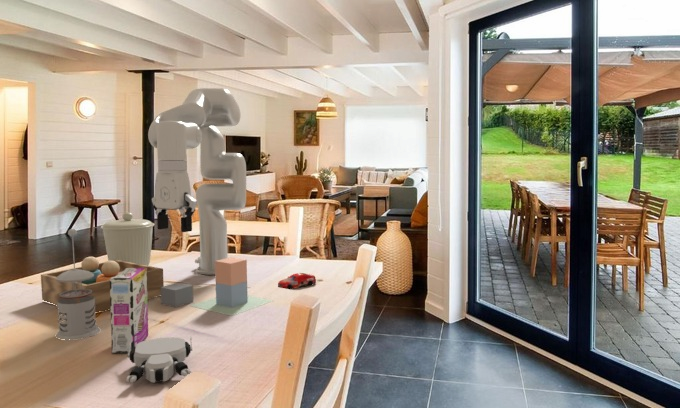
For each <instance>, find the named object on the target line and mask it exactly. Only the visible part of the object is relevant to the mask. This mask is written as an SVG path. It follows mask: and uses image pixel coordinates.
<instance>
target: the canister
mask: <svg viewBox="0 0 680 408" xmlns="http://www.w3.org/2000/svg"><path fill="white" fill-rule="evenodd" d="M133 215H134V214H133V213H131V212H127V211H126V212H123V214H122V219H117V220H112V221H111V220H110V221H107V222H105V223H104V224H103V225H101V226H100V229H101V230H102V234H103V239H104V244H105V251H106V255H107V256H106V257H107V261H114V260H120V261H125V262H131V263H136V264H141V265H146V266H150V263H151V257H152V255H151V254H152V253H151V252H152V245H153V244H152V242H153V227H154V226H155V224H156V223H154V222H152V221H151V220H148V219H144V218H143V219H140V218H133V217H134V216H133Z"/></svg>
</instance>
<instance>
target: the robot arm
mask: <svg viewBox="0 0 680 408" xmlns="http://www.w3.org/2000/svg"><path fill="white" fill-rule="evenodd" d="M240 120H241V109H240V107H239V104H238V102H237V101H236V99H235V96H234V95H233V94H232V92H230V91H229V90H228V89H227V88H226V89H225V88H222V87H221V88H218V87H217V88H214V87H213V88H207V87H206V88H205V87H204V88H203V87H201V88H196V89H193V90H192V91H190V92H189V93H188V95H187V96H186V98H185V99H184V101H183V102H182V104H181V105H177V106H175V107H172V108H170V109H167V110H165V111H162V112H161V113H159V114H157V116H155V118H154V119H153V120H152V122H151V123H150V126H149V129H148V133H147V136H148V138H147V139H148V142H149V143H150V145H151V146H152V147H153V148H155V149H157V150H156V151H157V154H156V155H157V172H156V175H155V179H154V181H155V182H154V196H153V197H152V198H151V203H152V205H153V210H155V215H156V217H157V218H156V219H157V220H156V223H157V224H156V225H157V230H167V229H168V228H169V214H168V211H177V210H178V211H179V213H180V215H181V216H182V217H181V216H180V232H181V233H188V232H192V231H193V220H192V219H193V217H194V213H195V212H196V208H197V211H198V219H199V221H198V223H199V251H200V252H199V253H200V256H199V257H197V259H195V260H194V263H195V264H198V267H196V269H195V271H196V273H197V274H200V275H206V276H207V275H209V276H210V275H211V276H212V275H213V276H214V275H215V261H217V260H222V259H226V258H229V257H228V255H229V254H228V223H227V220H226V218H225V217H224V214H222V212H221V211H240V210H243V209H245V207H246V204H247V163H246V159H245V157H244V156H243V154H241V153H238V152H226V146H225V145H226V144H225V143H226V140H225V137H224V136H223V134H222V132H220V130H219V129H218V128H217V127H237V125H239V123H240ZM198 146H200V147H199V149H200V150H199V152H200V153H199V155H200V158H199V159H200V160H199V161H200V162H199V163H200V174H201V176H202V178H204V179H206V180H215V181H216V180H224V181H226V180H230V181H232V183H223V182H222V183H221V182H217V183H215V182H213V183H212V182H211V183H209V182H208V183H203V184H201V185H199V186H198V187H197V189H196V190H195V198H194V197H193V196H192V192H191V184H190V183H191V182H190V176H189V173H188V156H187V155H188V153H187V150H190V149H195V148H197V147H198Z"/></svg>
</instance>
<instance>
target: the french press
mask: <svg viewBox="0 0 680 408" xmlns="http://www.w3.org/2000/svg"><path fill="white" fill-rule="evenodd" d="M77 234H78V231H77V229H75V228H70V229H69V230H68V231H67V235H71V240H72V241H71V242H72V258H73V259H72V261H73V268H74V269H73V268H71V269H72V270H68V269H67V270H68V271H66V272H63V273H62V274H60V275H59V276H58V277H56V280H57V281H59V282H72V283H73V289H74V290H71V291H70V290H69V291H67V292H66V291H65V292H63V293H61V294H59V297H60V298H62V299H60V300H58V301H57V306H56V308H57V316H58V317H57V318H58V320H57V321H58V331H57V333H56V334H55V335H56V337H57V338H60V339H65V340H64V341H74V340H73V339H78V340H82V339H81V338H83V339H87V338H90V336H91V337H93V335H94V336H96V335H97V334H99V333H100V332H101V330H100V329H101V328H100V327H99V326H98V325H97V320H96V318H97V317H96V314H95V312H94V311H95V297H94V296H91V294H92V292H93V291H92V290H89V289H86V290H85V289H82V282H81V281H84V280H88V279H91V278H93V277H94V274H93V273H91V272H89V271H86V270H80V269H75V268H76V266H75V265H76V263H75V247H74V246H75V244H74V235H77ZM79 281H80V282H79ZM74 282H75V283H74ZM76 282H79V283H76ZM80 283H81V290H80V289H79V290H77V289H76V284H80ZM74 285H75V286H74ZM76 298H79V303H77V304H76ZM93 307H94V308H93ZM91 311H92V312H91ZM93 312H94V313H93ZM63 320H64V321H63ZM95 334H96V335H95ZM86 337H87V338H86ZM69 339H70V340H69Z"/></svg>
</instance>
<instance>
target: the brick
mask: <svg viewBox="0 0 680 408" xmlns="http://www.w3.org/2000/svg"><path fill="white" fill-rule="evenodd" d="M247 263H248V260H247V259H244V258H238V257H232V256H231V257H228V258H226V259H222V260H217V261H215V274H214V275H215V276H214V278H215V284H216V283H220V284H225V285H230V286H232V285H235V284H239V283H242V282H246V281H247V282H248V267H247V266H248V264H247Z"/></svg>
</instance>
